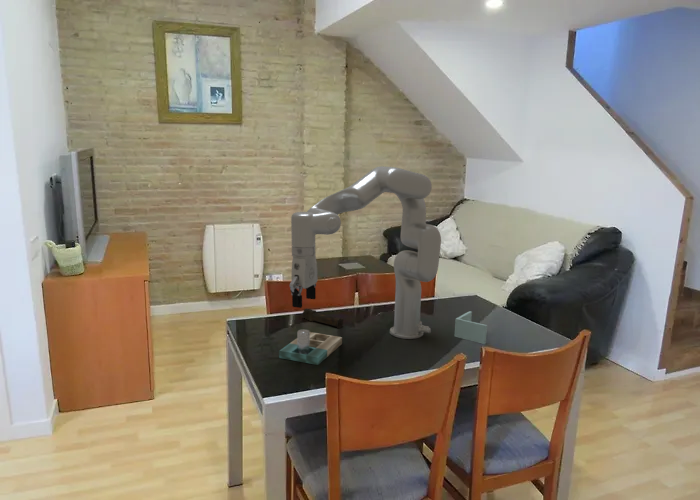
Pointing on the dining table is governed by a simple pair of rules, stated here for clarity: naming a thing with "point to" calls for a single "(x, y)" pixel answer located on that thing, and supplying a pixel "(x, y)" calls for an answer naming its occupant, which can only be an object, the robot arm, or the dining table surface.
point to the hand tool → (322, 318)
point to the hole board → (312, 349)
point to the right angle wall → (470, 329)
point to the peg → (303, 341)
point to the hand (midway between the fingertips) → (304, 302)
